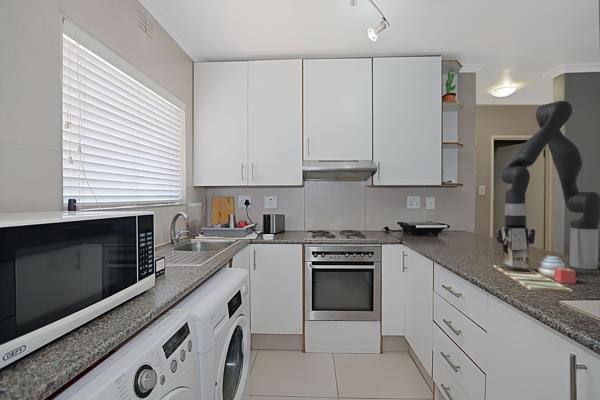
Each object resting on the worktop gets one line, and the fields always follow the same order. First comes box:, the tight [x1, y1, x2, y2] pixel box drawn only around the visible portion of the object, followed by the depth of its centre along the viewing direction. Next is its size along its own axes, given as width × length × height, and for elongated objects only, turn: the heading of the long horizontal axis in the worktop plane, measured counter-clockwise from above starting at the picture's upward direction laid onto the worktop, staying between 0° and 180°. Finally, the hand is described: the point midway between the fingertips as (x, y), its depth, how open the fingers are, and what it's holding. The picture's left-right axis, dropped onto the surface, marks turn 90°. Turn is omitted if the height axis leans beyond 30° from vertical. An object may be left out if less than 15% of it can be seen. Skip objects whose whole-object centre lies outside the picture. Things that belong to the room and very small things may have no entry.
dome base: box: [537, 265, 554, 278], centre depth 129 cm, size 9×9×2 cm
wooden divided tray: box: [493, 264, 573, 293], centre depth 124 cm, size 35×12×1 cm, turn 166°
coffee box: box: [502, 226, 529, 268], centre depth 135 cm, size 9×6×16 cm
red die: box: [553, 267, 577, 284], centre depth 118 cm, size 4×4×5 cm
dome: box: [539, 255, 566, 270], centre depth 129 cm, size 8×8×5 cm
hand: (515, 253), depth 135 cm, fingers closed on coffee box, 6 cm apart
